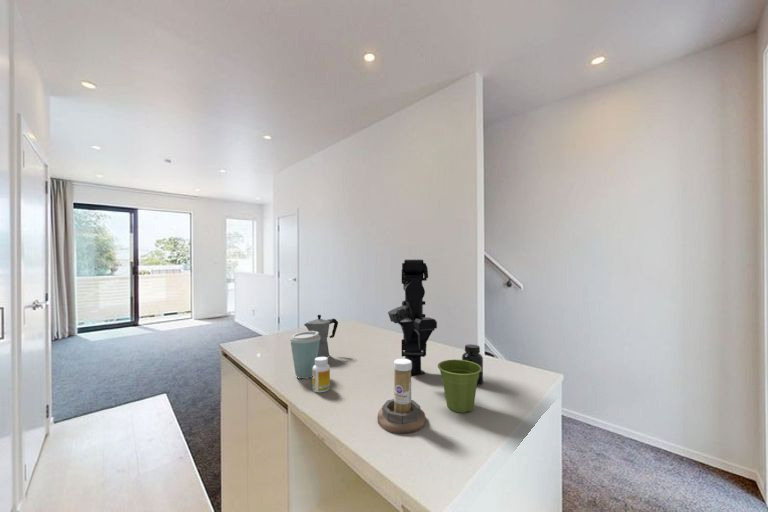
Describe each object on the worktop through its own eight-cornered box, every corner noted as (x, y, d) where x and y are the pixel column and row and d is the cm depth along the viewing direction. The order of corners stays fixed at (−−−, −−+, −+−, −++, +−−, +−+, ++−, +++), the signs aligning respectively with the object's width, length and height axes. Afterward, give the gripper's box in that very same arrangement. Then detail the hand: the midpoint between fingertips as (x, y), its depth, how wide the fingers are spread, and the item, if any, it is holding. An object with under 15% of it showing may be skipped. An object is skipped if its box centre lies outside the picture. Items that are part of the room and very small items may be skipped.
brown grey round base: (370, 414, 80) (370, 400, 80) (411, 405, 84) (411, 393, 84) (389, 438, 68) (389, 422, 69) (434, 427, 73) (434, 412, 73)
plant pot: (435, 397, 90) (435, 359, 90) (475, 397, 89) (475, 359, 89) (441, 417, 78) (441, 373, 78) (487, 418, 77) (487, 374, 78)
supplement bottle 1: (332, 387, 97) (332, 356, 97) (324, 394, 92) (324, 361, 92) (318, 385, 99) (318, 355, 99) (309, 391, 94) (309, 360, 94)
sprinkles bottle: (391, 417, 75) (391, 362, 75) (396, 408, 79) (396, 357, 80) (410, 419, 74) (410, 364, 74) (413, 410, 78) (413, 358, 79)
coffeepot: (308, 363, 121) (308, 318, 121) (300, 357, 128) (300, 314, 129) (342, 356, 130) (342, 314, 130) (333, 351, 137) (333, 311, 138)
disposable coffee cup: (297, 384, 100) (297, 338, 100) (284, 375, 108) (284, 332, 108) (325, 376, 107) (326, 333, 107) (311, 368, 115) (311, 328, 115)
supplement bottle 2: (484, 386, 97) (484, 349, 97) (462, 385, 98) (462, 348, 99) (481, 378, 104) (481, 343, 104) (461, 377, 105) (461, 342, 106)
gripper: (380, 296, 103) (380, 342, 103) (404, 302, 86) (404, 357, 86) (408, 294, 108) (409, 338, 107) (437, 300, 90) (438, 353, 90)
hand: (414, 346), depth 97 cm, fingers open, 9 cm apart
